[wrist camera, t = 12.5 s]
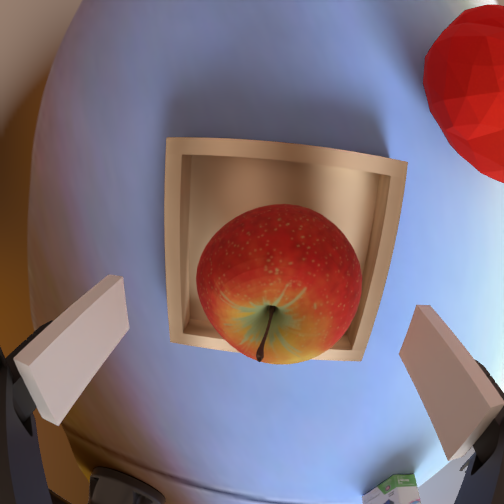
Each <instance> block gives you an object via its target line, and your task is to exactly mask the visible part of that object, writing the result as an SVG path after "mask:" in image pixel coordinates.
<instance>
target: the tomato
mask: <svg viewBox="0 0 504 504" xmlns="http://www.w3.org/2000/svg"><path fill="white" fill-rule="evenodd" d="M423 85H424V89H425V93H426V96H427V100H428V104H429V109H430V112H431V113H432V115H433V117H434V118H435V120H436V121H437V123H438V125H439V126H440V128H441V130H442V131H443V133H444V135H445V137H446V138H447V140H448V142H449V144H450V145H451V146H452V147H453V148H454V149H455V150H456V151H457V153H458V154H459V155H460V156H462V157H463V158H464V159H465V160H467V161H468V162H469V163H470V164H471V165H472V166H474V167H475V168H476V169H477V170H478V171H479V172H480V173H482V174H484V175H486V176H488V177H490V178H492V179H494V180H497V181H500V182H502V183H504V6H501V5H484V6H479V7H475V8H471V9H468V10H465V11H463V12H462V13H461V14H460V15H459V16H458V17H457V18H456V19H455V20H454V21H453V22H452V23H451V24H450V25H449V26H448V27H447V29H445V30H444V31H443V32H442V33H441V35H440V36H439V37H438V38H437V40H436V41H435V42H434V44H433V45H432V47H431V48H430V50H429V51H428V53H427V55H426V56H425V64H424V77H423Z"/></svg>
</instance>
